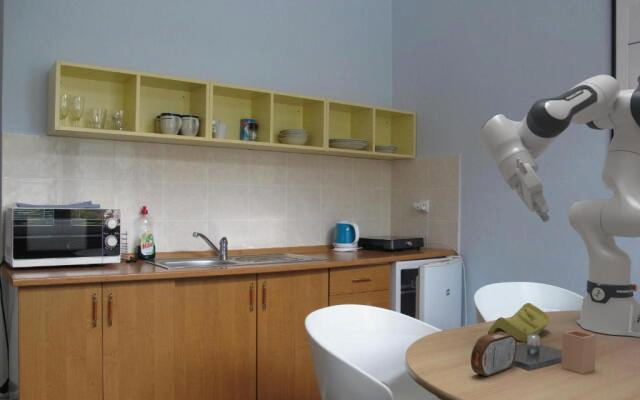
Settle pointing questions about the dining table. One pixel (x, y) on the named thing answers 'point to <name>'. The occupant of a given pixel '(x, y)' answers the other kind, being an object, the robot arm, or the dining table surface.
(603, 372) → the dining table surface
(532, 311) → the plastic component
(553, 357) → the base
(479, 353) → the tin
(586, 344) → the sleeve
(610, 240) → the robot arm
